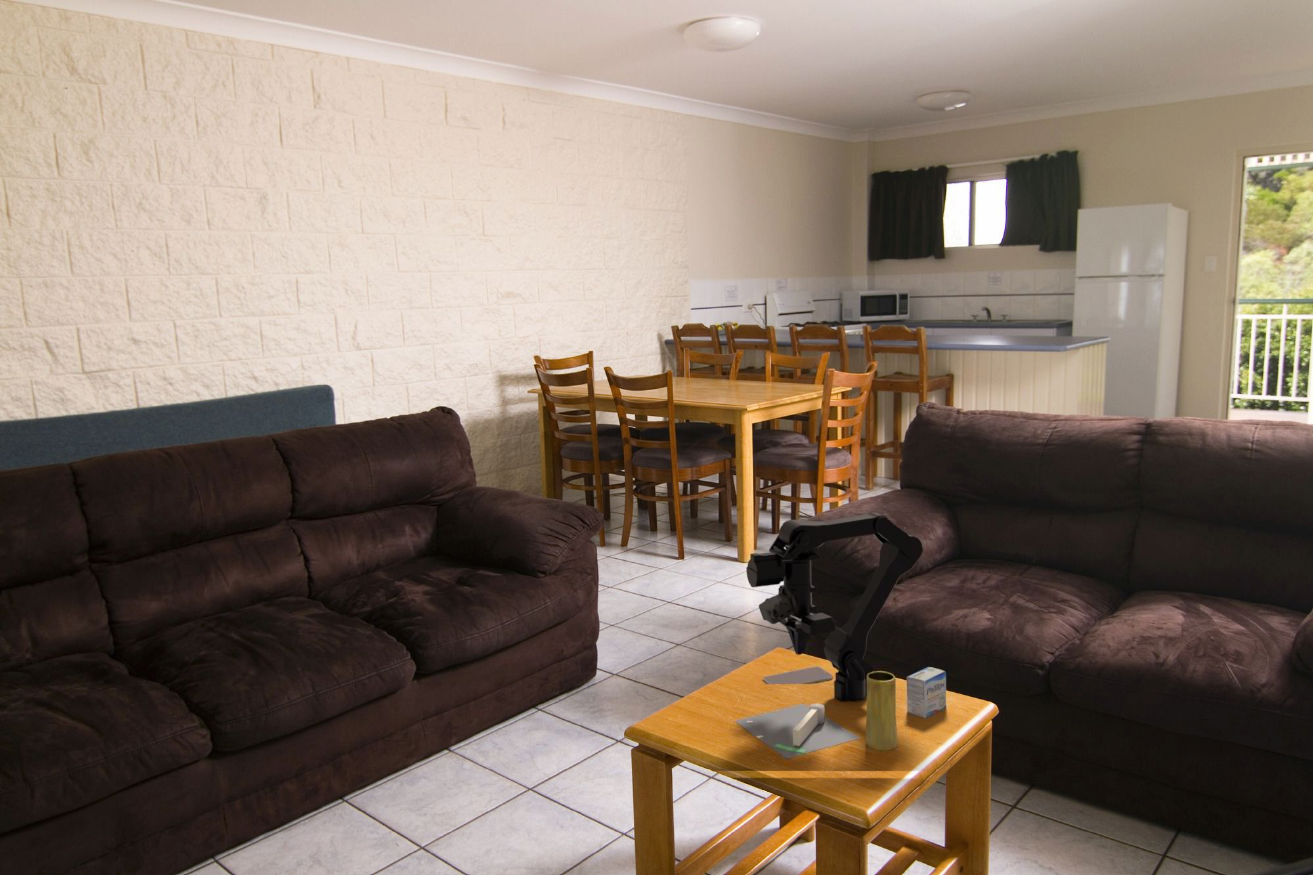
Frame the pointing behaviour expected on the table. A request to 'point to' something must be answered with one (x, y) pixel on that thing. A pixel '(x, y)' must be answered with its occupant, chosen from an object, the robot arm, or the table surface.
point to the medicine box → (926, 692)
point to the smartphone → (800, 676)
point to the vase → (881, 711)
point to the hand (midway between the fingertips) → (798, 654)
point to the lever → (808, 723)
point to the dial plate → (780, 726)
